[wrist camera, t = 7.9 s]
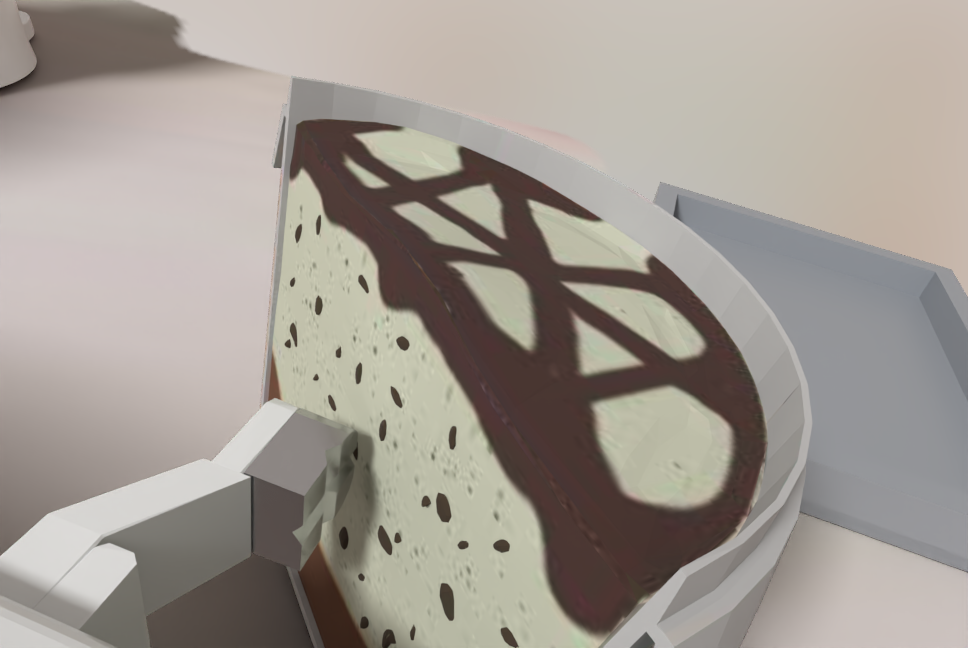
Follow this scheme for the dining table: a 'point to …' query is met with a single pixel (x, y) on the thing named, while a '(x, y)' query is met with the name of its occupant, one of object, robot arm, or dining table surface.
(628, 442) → the food container
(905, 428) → the tray
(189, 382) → the dining table surface
